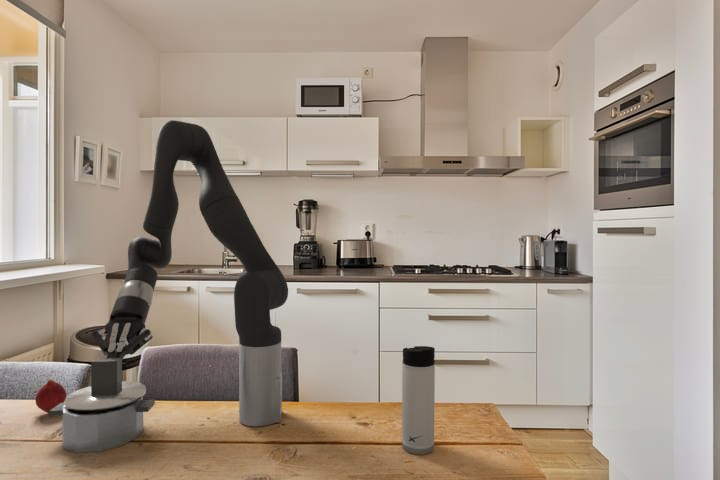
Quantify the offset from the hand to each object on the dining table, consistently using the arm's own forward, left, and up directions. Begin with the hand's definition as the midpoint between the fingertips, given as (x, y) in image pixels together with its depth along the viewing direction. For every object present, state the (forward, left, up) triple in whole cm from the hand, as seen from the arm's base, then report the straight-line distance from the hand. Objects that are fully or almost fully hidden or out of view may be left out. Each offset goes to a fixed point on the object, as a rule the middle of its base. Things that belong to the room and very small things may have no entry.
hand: (110, 370), depth 94 cm
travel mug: (-63, +15, -12) cm, 66 cm away
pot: (0, +3, -12) cm, 13 cm away
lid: (0, +2, -5) cm, 5 cm away
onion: (+17, -10, -13) cm, 23 cm away
